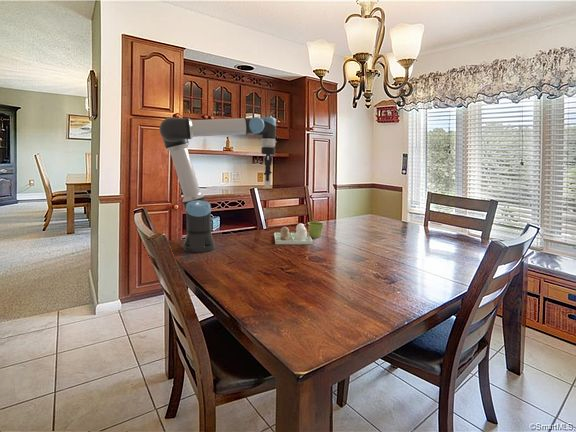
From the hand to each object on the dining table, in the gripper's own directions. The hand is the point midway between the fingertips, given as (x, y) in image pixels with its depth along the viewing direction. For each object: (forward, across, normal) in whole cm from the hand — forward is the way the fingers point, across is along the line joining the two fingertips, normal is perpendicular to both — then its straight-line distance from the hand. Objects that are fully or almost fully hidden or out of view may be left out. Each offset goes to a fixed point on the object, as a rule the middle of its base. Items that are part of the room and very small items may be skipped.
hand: (267, 186), depth 190 cm
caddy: (+30, -5, -15) cm, 33 cm away
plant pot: (+30, +4, -28) cm, 41 cm away
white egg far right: (+29, -10, -20) cm, 36 cm away
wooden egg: (+29, -10, -10) cm, 32 cm away
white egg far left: (+29, 0, -19) cm, 35 cm away
